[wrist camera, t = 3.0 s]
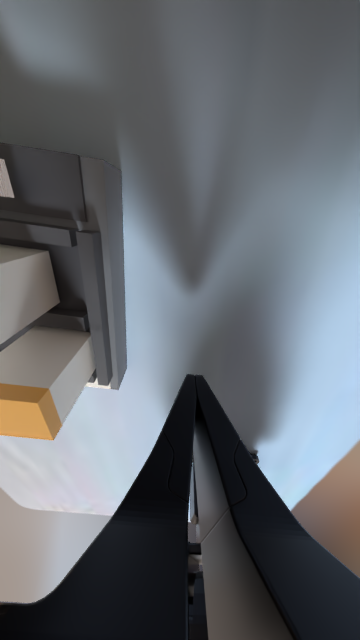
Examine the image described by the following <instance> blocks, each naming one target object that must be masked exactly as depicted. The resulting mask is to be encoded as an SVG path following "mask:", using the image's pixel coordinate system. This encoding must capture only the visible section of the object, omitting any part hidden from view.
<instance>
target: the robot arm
mask: <svg viewBox="0 0 360 640" xmlns="http://www.w3.org/2000/svg"><path fill="white" fill-rule="evenodd" d="M193 454H194V464H193V466H192V456H193ZM258 463H259V459H258V456H257V455H250V453H249V452H248V450H247V448H246V447H245V445H244V443H243V442H242V440H240V437H239V435H238V433H237V432H236V430H235V428H234V427H233V425H232V423H231V422H230V420H229V418H228V417H227V415H226V413H225V412H224V410H223V408H222V407H221V405H220V403H219V402H218V400H217V398H216V397H215V395H214V393H213V392H212V390H211V389H210V387H209V385H208V384H207V382H206V380H205V379H204V377H203V376H202V375H195V376H194V375H193V374H187V375H186V377H185V379H184V381H183V383H182V386H181V388H180V390H179V392H178V395H177V397H176V399H175V401H174V404H173V406H172V408H171V410H170V413H169V415H168V417H167V419H166V422H165V424H164V426H163V428H162V431H161V433H160V435H159V437H158V439H157V441H156V444H155V446H154V448H153V450H152V452H151V454H150V455H149V457H148V459H147V461H146V462H145V464H144V466H143V468H142V469H141V471H140V473H139V474H138V476H137V478H136V479H135V481H134V483H133V484H132V486H131V488H130V489H129V491H128V493H127V494H126V496H125V498H124V499H123V501H122V502H121V504H120V505H119V507H118V509H117V510H116V512H115V513H114V515H113V516H112V517H111V519H110V520H109V522H108V523H107V524H106V525H105V527H104V528H103V529H102V531H101V532H100V533H99V535H98V536H97V537H96V538H95V539H94V541H93V542H92V543H91V545H90V546H89V547H88V548H87V550H86V551H85V552H84V553H83V555H82V556H81V557H80V558H79V560H78V561H77V562H76V564H75V565H74V566H73V567H72V569H71V570H70V571H69V573H68V574H67V575H66V576H65V577H64V579H63V580H62V581H61V582H60V584H59V585H58V586H57V587H56V588H55V589H54V590H53V591H52V592H51V593H49V594H48V595H47V596H46V597H44V598H42V599H40V600H38V601H36V602H32V603H17V602H0V640H360V578H359V577H358V576H357V575H355V574H354V573H353V572H352V571H351V570H350V569H348V568H347V567H346V566H345V565H344V564H343V563H341V562H340V561H339V560H338V559H337V558H336V557H334V556H333V555H332V554H331V553H330V552H329V551H328V550H327V549H325V548H324V547H323V546H322V545H321V544H319V542H317V541H316V540H315V539H314V538H313V537H312V536H311V535H310V534H309V533H308V532H307V531H306V530H305V529H304V528H303V527H302V526H301V524H300V523H299V522H298V521H297V519H296V518H295V517H294V516H293V514H292V513H291V512H290V510H289V509H288V507H287V506H286V505H285V503H284V502H283V500H282V499H281V498H280V496H279V495H278V494H277V492H276V491H275V489H274V488H273V487H272V485H271V484H270V482H269V481H268V480H267V478H266V477H265V475H264V474H263V473H262V471H261V470H260V468H259V467H258V465H257V464H258ZM189 496H190V521H191V523H192V524H196V538H197V539H196V540H197V543H190V542H188V510H189ZM199 564H202V565H203V571H200V569H199Z"/></svg>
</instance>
